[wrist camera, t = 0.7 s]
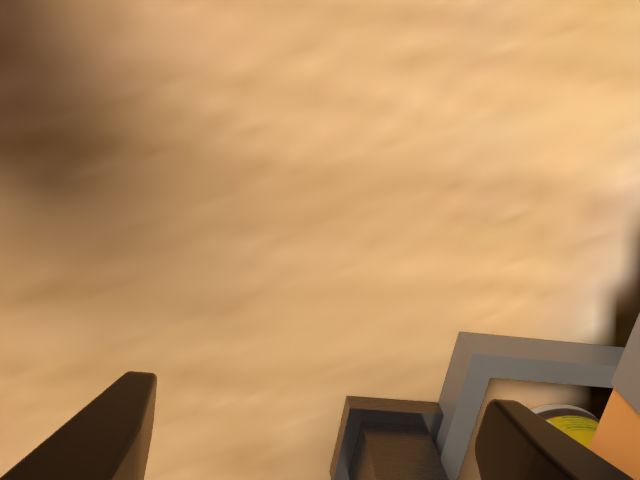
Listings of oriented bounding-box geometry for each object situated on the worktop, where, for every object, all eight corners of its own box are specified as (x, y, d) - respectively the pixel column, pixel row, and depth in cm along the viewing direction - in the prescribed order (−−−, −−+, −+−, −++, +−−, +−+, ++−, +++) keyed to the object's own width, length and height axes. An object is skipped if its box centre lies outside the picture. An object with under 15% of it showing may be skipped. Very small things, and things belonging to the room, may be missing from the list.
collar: (610, 541, 30) (629, 569, 28) (400, 533, 28) (408, 563, 27) (697, 354, 26) (724, 376, 24) (459, 331, 24) (472, 353, 23)
